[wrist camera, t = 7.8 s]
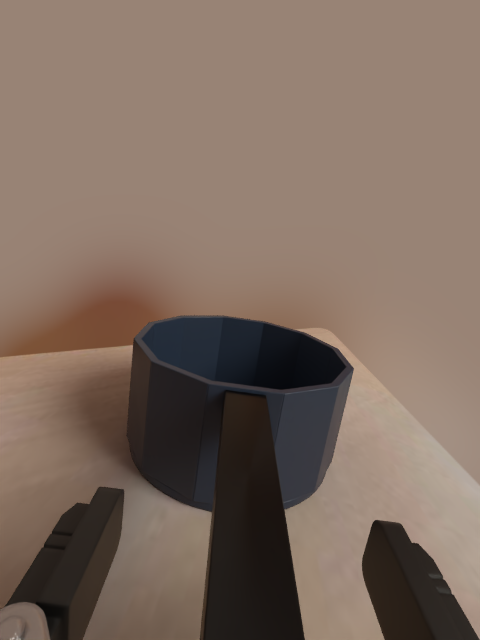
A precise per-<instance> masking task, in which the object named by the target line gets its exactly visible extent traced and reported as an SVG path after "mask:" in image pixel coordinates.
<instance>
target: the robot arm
mask: <svg viewBox="0 0 480 640" xmlns="http://www.w3.org/2000/svg"><path fill="white" fill-rule="evenodd" d="M123 504H124V490H123V489H116V488H108V487H99V488H98V489H97V491H96V493H95V495H94V496H93V498H92V500H91V502H90V504H83V503H76V504H75V505H74V506H73V507H72V508H70V509H69V510H68V511H67V512H65V513H64V514H63V515H62V516H61V518H60V520H59V521H58V523H57V524H56V526H55V528H54V529H53V531H52V534H50V536H49V537H48V539H47V540H46V542H45V544H44V547H43V548H41V550H40V552H39V553H38V555H37V557H36V558H35V560H34V561H33V563H32V565H31V566H30V568H29V569H28V571H27V573H26V574H25V576H24V577H23V579H22V581H21V582H20V584H19V586H18V587H17V589H16V590H15V592H14V594H13V595H12V597H11V598H10V600H9V601H8V603H7V604H6V605H5V607H4V608H2V609H0V640H82V639H83V637H84V634H85V632H86V629H87V627H88V624H89V621H90V619H91V616H92V614H93V611H94V608H95V606H96V603H97V601H98V598H99V595H100V593H101V590H102V588H103V585H104V582H105V580H106V577H107V575H108V572H109V569H110V567H111V564H112V562H113V559H114V556H115V554H116V551H117V548H118V544H119V540H120V536H121V530H122V517H123ZM362 571H363V577H364V581H365V584H366V587H367V590H368V593H369V596H370V599H371V601H372V604H373V607H374V610H375V613H376V616H377V619H378V622H379V624H380V627H381V630H382V633H383V636H384V639H385V640H479V638H478V636H477V635H476V633H475V631H474V630H473V628H472V626H471V624H470V623H469V621H468V619H467V617H466V616H465V614H464V612H463V610H462V609H461V607H460V605H459V604H458V602H457V600H456V598H455V597H454V595H452V594H451V590H450V588H449V586H448V584H447V583H446V581H445V580H443V576H442V574H441V572H440V571H439V569H438V567H437V565H436V564H435V562H434V560H433V559H432V558H431V557H430V556H429V555H428V554H427V553H426V551H425V550H424V549H423V548H422V547H421V546H420V545H419V544H417V543H411V541H410V539H409V537H408V535H407V533H406V531H405V530H404V528H403V526H402V525H401V524H400V523H396V522H388V521H380V520H375V521H374V522H373V524H372V527H371V530H370V534H369V537H368V541H367V544H366V548H365V551H364V555H363V560H362Z"/></svg>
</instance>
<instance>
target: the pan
mask: <svg viewBox="0 0 480 640" xmlns="http://www.w3.org/2000/svg"><path fill="white" fill-rule="evenodd" d="M133 343H134V344H133V355H132V369H131V382H130V396H129V409H128V423H127V438H128V440H129V442H130V451H131V455H132V458H133V460H134V462H135V464H136V466H137V468H138V469H139V471H140V472H141V473H142V474H143V476H144V477H145V478H146V479H147V480H148V481H149V482H150V483H152V484H153V485H154V486H155V487H156V488H158V489H159V490H161V491H162V492H164V493H165V494H167V495H169V496H171V497H173V498H174V499H176V500H178V501H181V502H183V503H186V504H188V505H191V506H193V507H197V508H200V509H204V510H207V511H212V519H211V529H210V539H209V549H208V560H207V570H206V580H205V591H204V601H203V611H202V622H201V632H200V640H305V638H304V631H303V625H302V619H301V612H300V606H299V600H298V593H297V587H296V581H295V574H294V568H293V562H292V555H291V549H290V543H289V536H288V530H287V524H286V517H285V511H284V509H288V508H290V507H292V506H295V505H297V504H299V503H301V502H302V501H304V500H305V499H307V498H309V497H310V496H311V495H312V494H313V493H314V492H315V491H316V490H317V489H318V487H319V486H320V485H321V483H322V481H323V479H324V477H325V474H326V470H327V469H328V467H329V465H330V463H331V462H332V458H333V453H334V449H335V445H336V441H337V437H338V433H339V428H340V424H341V420H342V416H343V412H344V408H345V403H346V399H347V395H348V391H349V387H350V383H351V379H352V374H353V370H354V368H353V367H352V366H351V364H350V363H349V362H348V361H347V359H346V358H345V357H344V356H343V354H342V353H341V352H340V351H339V349H337V348H335V347H333V346H331V345H329V344H327V343H325V342H323V341H321V340H319V339H317V338H315V337H313V336H311V335H309V334H307V333H304V332H300V331H297V330H293V329H289V328H286V327H282V326H278V325H275V324H272V323H268V322H263V321H256V320H250V319H243V318H236V317H228V316H177V317H173V318H168V319H164V320H159V321H154V322H150V323H148V324H147V325H146V326H145V327H144V328H143V329H142V330H141V331H140V332H139V334H137V335H136V337H135V338H134V342H133Z"/></svg>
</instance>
